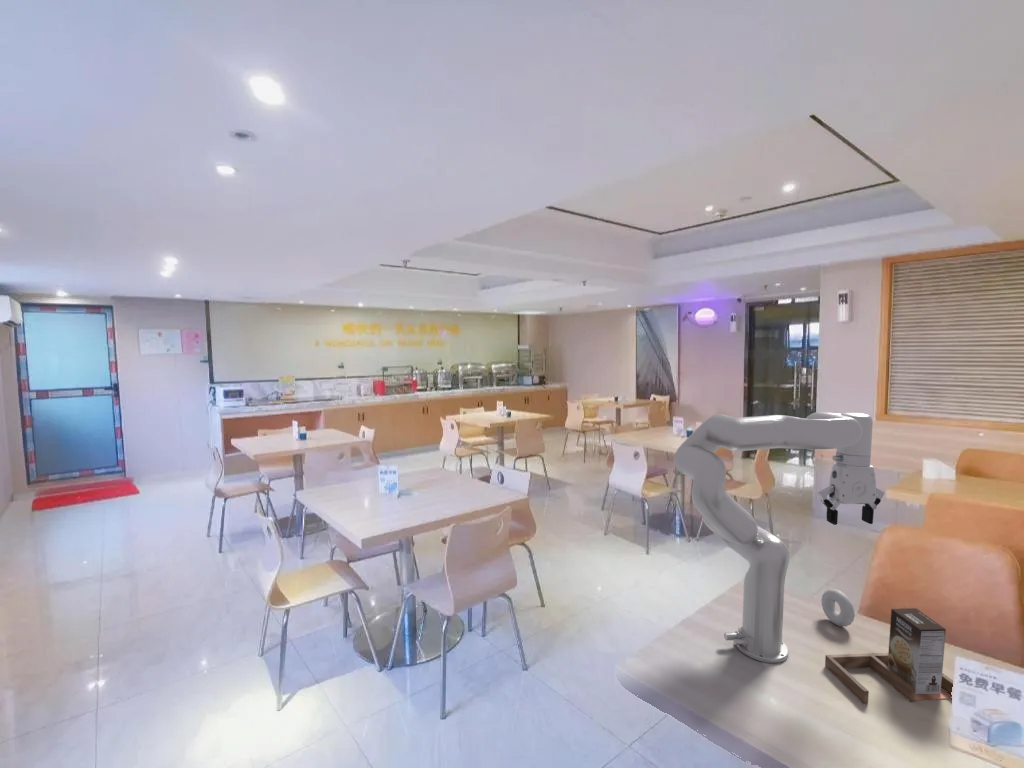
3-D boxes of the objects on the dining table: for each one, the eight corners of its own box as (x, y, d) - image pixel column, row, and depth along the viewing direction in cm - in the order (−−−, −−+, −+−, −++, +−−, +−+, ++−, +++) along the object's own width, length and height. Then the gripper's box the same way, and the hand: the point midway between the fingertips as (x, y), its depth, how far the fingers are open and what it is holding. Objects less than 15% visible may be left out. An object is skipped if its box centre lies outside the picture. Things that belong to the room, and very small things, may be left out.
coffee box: (885, 669, 124) (889, 607, 122) (911, 669, 124) (915, 607, 122) (915, 695, 115) (919, 628, 113) (942, 695, 115) (947, 628, 113)
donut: (857, 633, 139) (858, 598, 139) (846, 634, 139) (848, 600, 138) (827, 614, 149) (829, 582, 148) (817, 615, 148) (819, 583, 148)
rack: (863, 703, 112) (864, 691, 112) (825, 666, 125) (825, 655, 125) (961, 699, 113) (962, 687, 113) (912, 663, 126) (913, 651, 126)
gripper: (830, 463, 127) (827, 528, 129) (896, 462, 128) (892, 527, 129) (811, 456, 135) (809, 518, 136) (873, 455, 135) (870, 517, 137)
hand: (849, 522), depth 133 cm, fingers open, 9 cm apart
